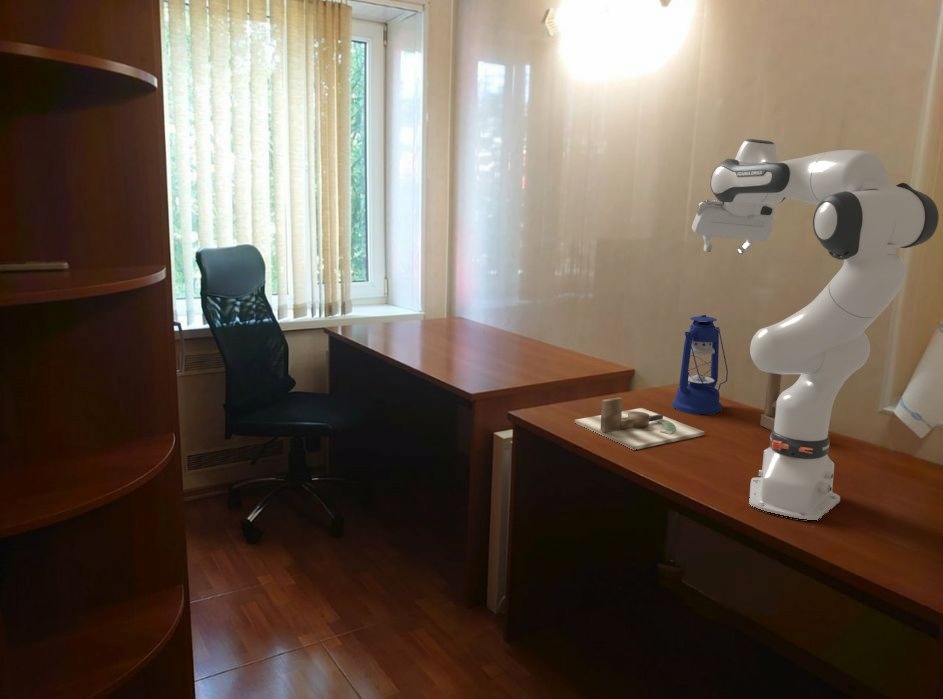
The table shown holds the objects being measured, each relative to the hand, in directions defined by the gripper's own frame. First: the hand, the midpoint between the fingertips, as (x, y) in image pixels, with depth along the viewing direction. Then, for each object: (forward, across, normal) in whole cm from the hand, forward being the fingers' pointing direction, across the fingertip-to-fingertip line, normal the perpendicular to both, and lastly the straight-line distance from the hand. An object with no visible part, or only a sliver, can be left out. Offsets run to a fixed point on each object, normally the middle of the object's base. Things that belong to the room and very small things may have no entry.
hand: (723, 252), depth 188 cm
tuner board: (+53, -13, -10) cm, 55 cm away
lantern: (+57, +12, +9) cm, 59 cm away
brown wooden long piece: (+51, -15, -10) cm, 54 cm away
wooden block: (+48, +26, -13) cm, 56 cm away
